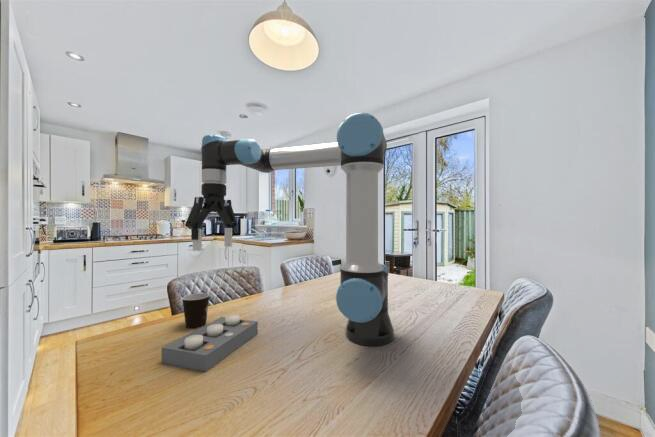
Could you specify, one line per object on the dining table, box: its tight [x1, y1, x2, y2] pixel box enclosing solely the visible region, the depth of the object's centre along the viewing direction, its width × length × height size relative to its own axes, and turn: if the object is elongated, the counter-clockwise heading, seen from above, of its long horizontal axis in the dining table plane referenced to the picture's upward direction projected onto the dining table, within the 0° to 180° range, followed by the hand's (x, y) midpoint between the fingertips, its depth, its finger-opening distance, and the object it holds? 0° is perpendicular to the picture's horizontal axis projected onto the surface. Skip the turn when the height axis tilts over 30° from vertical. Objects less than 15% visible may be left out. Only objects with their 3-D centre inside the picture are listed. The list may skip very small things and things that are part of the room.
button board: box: [161, 316, 259, 372], centre depth 78 cm, size 14×23×4 cm, turn 163°
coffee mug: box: [181, 292, 210, 330], centre depth 96 cm, size 12×9×10 cm
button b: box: [207, 324, 223, 337], centre depth 78 cm, size 4×4×2 cm
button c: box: [184, 335, 203, 350], centre depth 71 cm, size 4×4×2 cm
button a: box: [225, 314, 241, 326], centre depth 86 cm, size 4×4×2 cm
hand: (213, 248), depth 88 cm, fingers open, 13 cm apart
